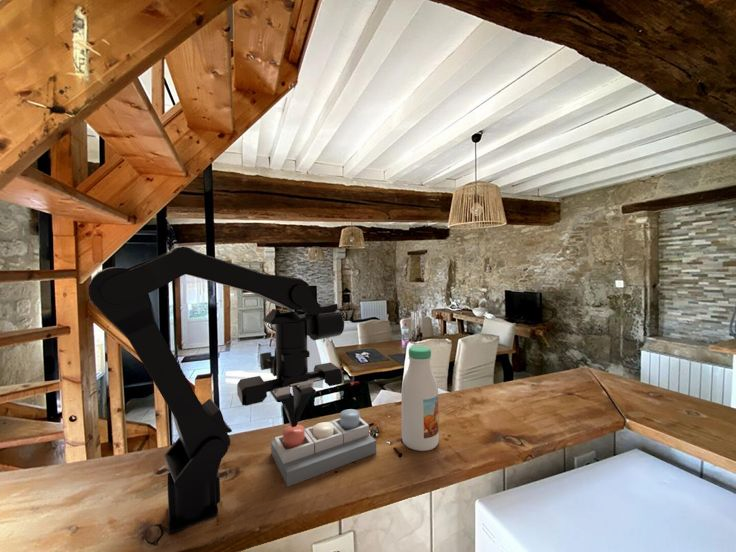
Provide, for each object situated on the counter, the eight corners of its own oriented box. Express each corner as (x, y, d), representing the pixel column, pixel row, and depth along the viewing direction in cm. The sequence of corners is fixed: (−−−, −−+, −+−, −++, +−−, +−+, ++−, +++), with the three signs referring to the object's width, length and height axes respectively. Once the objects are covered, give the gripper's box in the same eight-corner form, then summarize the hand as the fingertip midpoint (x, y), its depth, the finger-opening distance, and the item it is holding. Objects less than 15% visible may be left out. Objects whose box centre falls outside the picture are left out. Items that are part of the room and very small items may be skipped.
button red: (286, 451, 57) (286, 438, 57) (280, 440, 61) (280, 428, 60) (307, 444, 59) (307, 431, 59) (300, 434, 63) (300, 422, 63)
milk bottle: (410, 455, 62) (409, 355, 61) (396, 434, 70) (395, 345, 69) (445, 448, 64) (445, 351, 63) (428, 429, 72) (428, 342, 71)
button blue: (345, 432, 63) (345, 420, 63) (337, 423, 67) (337, 412, 67) (363, 426, 65) (362, 415, 65) (353, 418, 69) (353, 407, 69)
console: (287, 486, 54) (286, 461, 54) (271, 453, 63) (270, 431, 63) (376, 452, 63) (376, 430, 63) (350, 428, 73) (350, 408, 72)
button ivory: (317, 447, 60) (317, 434, 60) (310, 437, 64) (310, 425, 64) (336, 441, 62) (336, 429, 62) (328, 432, 66) (328, 420, 66)
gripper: (321, 330, 71) (322, 398, 71) (231, 342, 61) (233, 421, 62) (343, 341, 61) (344, 419, 62) (241, 357, 52) (244, 449, 52)
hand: (293, 426), depth 60 cm, fingers closed
